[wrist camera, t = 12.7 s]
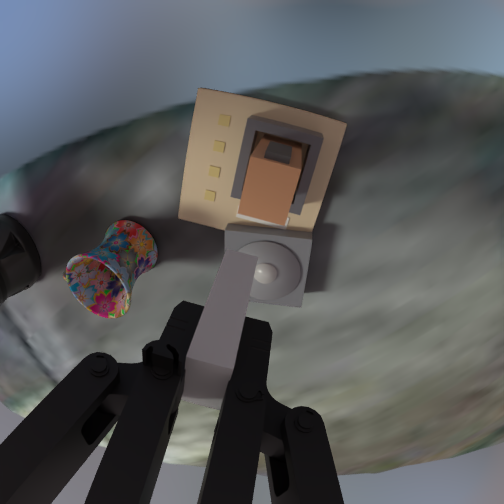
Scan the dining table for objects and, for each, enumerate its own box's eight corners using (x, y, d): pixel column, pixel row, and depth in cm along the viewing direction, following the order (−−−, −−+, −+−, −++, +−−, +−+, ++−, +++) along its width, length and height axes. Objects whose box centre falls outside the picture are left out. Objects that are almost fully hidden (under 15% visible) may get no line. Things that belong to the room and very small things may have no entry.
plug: (254, 176, 35) (237, 213, 27) (265, 128, 32) (252, 148, 24) (289, 186, 35) (284, 226, 27) (302, 138, 32) (303, 162, 24)
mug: (155, 213, 41) (116, 255, 32) (168, 272, 45) (139, 322, 36) (84, 216, 43) (41, 254, 34) (101, 270, 47) (66, 312, 38)
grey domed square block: (229, 284, 45) (223, 301, 42) (229, 219, 40) (223, 232, 36) (301, 293, 44) (301, 310, 41) (312, 227, 38) (312, 242, 35)
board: (181, 214, 40) (169, 229, 37) (201, 87, 32) (189, 89, 28) (304, 246, 40) (304, 265, 36) (345, 122, 32) (351, 128, 28)
